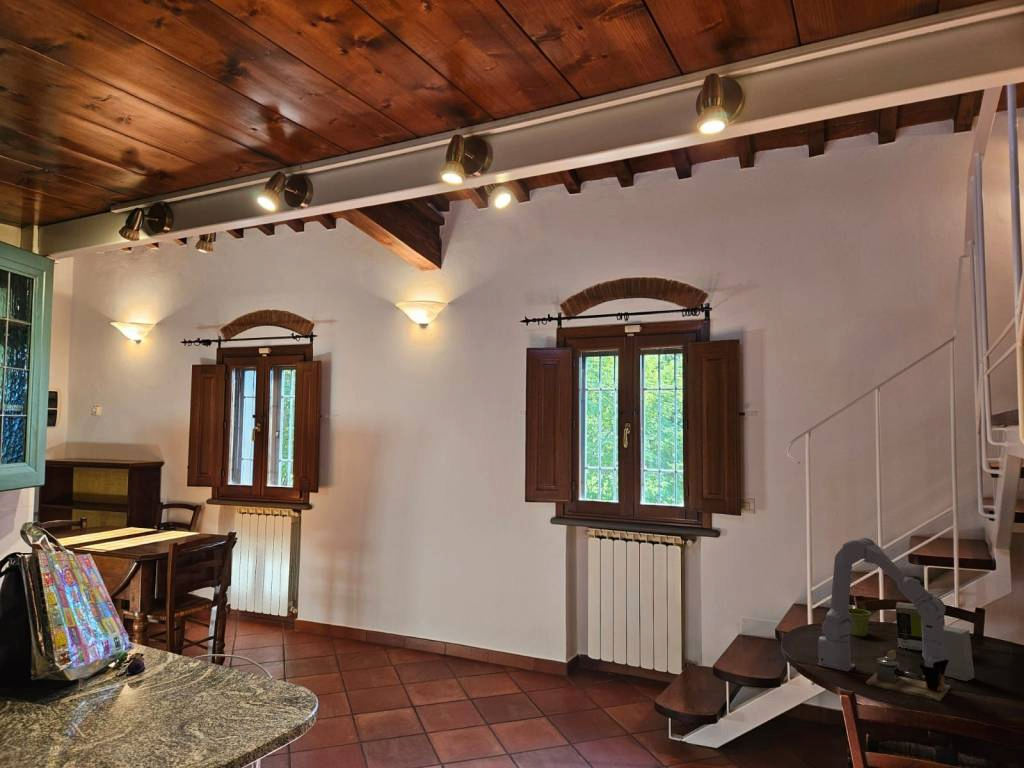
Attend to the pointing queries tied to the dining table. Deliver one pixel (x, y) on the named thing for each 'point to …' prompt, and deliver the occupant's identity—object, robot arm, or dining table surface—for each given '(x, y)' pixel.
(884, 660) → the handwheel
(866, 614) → the plant pot
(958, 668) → the skincare box
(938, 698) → the oak board
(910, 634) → the tea box
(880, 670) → the eye block
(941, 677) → the brown blocky piece
